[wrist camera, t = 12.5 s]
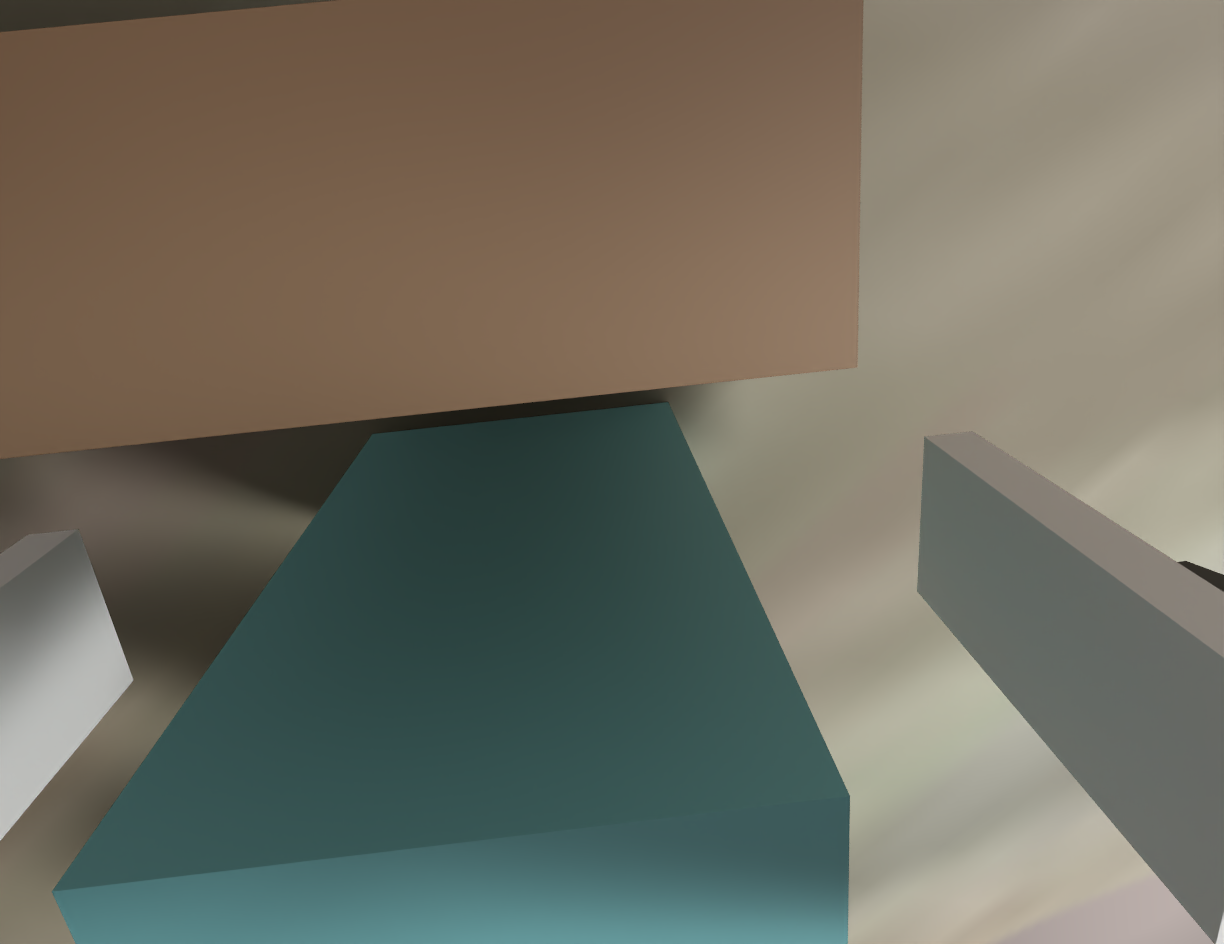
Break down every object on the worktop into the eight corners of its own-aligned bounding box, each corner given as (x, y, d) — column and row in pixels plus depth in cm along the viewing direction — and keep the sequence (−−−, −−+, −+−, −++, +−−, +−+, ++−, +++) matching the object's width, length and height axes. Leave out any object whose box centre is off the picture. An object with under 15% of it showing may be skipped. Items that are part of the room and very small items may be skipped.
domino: (657, 232, 15) (856, 367, 5) (337, 265, 15) (-139, 473, 5) (647, 104, 14) (864, -50, 4) (310, 138, 14) (-327, 62, 4)
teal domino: (674, 501, 17) (846, 998, 7) (393, 532, 17) (140, 1086, 7) (668, 402, 16) (850, 796, 6) (372, 433, 16) (51, 892, 6)
